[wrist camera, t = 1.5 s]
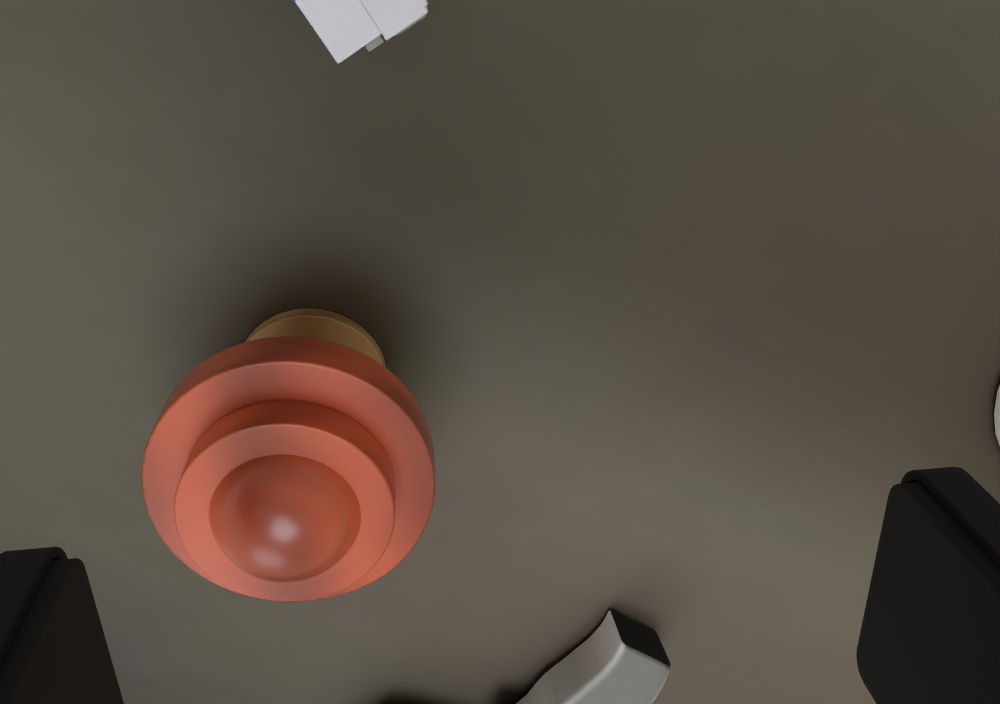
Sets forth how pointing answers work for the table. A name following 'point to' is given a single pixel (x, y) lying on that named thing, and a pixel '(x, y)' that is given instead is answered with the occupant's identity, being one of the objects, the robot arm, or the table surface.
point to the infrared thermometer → (607, 667)
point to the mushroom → (291, 462)
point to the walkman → (360, 22)
